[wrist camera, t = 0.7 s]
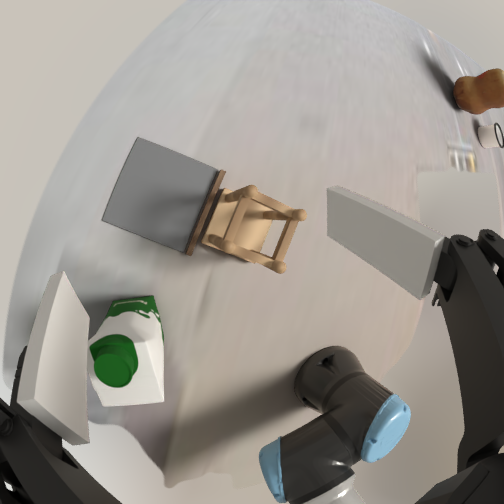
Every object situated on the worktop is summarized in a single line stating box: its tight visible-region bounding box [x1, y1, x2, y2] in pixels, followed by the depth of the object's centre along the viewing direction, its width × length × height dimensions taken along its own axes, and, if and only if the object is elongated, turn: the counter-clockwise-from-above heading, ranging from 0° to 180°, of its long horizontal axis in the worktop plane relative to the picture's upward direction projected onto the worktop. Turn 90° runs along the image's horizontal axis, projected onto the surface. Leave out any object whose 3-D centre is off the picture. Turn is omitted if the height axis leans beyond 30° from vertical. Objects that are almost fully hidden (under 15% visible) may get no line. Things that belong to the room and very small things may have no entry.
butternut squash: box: [453, 69, 504, 115], centre depth 47 cm, size 14×13×25 cm
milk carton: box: [87, 296, 164, 406], centre depth 31 cm, size 9×9×20 cm
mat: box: [103, 137, 218, 252], centre depth 39 cm, size 14×14×1 cm
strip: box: [186, 170, 226, 256], centre depth 41 cm, size 1×14×1 cm, turn 157°
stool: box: [201, 185, 307, 274], centre depth 37 cm, size 9×9×14 cm
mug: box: [478, 123, 504, 148], centre depth 61 cm, size 12×10×9 cm
